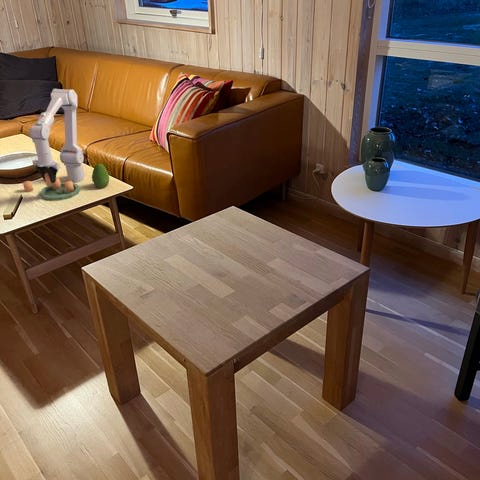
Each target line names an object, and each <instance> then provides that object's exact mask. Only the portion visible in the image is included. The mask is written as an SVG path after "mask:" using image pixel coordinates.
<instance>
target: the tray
mask: <svg viewBox="0 0 480 480" xmlns="http://www.w3.org/2000/svg"><path fill="white" fill-rule="evenodd" d="M60 183H61V188H60V189H57V190H56V191H54V189H53V186H47V185H46V186H45V187H43V188H42V189H41V190H40V191H39V195H40V197H41V198H42V199H43V200H47V201H64V200H67V199H71V198H74V197H75V196H77V195H79V194H80V191H81V188H80V186H79V185H78V183H73V187H74V192H72V193H70V194H67V193H66V189H65V184H64V182H60Z"/></svg>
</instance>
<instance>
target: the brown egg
mask: <svg viewBox="0 0 480 480" xmlns="http://www.w3.org/2000/svg"><path fill="white" fill-rule="evenodd" d="M22 184H23V185H22V186H23V189H24V192H25V193H30V192H31V193H32V192H33V191H34V187H33V185H32V184H33V183H32V181H31V180H26V181H23V182H22Z"/></svg>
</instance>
